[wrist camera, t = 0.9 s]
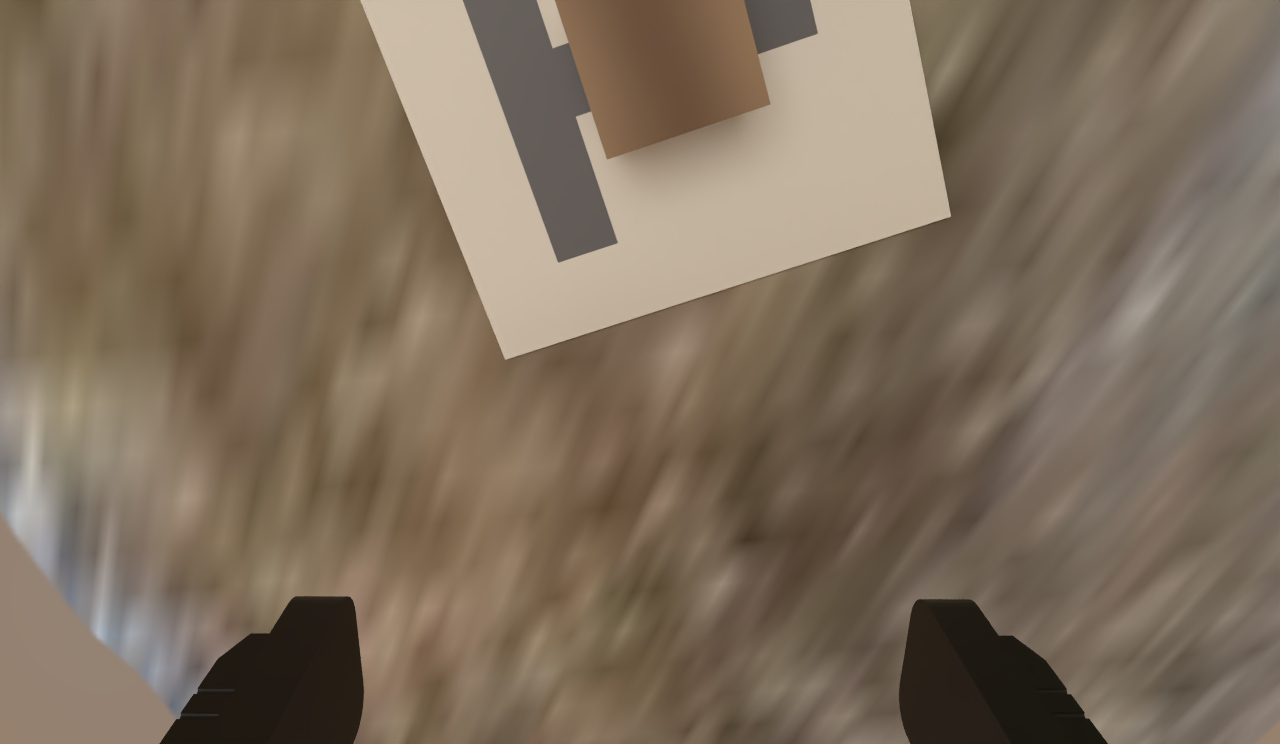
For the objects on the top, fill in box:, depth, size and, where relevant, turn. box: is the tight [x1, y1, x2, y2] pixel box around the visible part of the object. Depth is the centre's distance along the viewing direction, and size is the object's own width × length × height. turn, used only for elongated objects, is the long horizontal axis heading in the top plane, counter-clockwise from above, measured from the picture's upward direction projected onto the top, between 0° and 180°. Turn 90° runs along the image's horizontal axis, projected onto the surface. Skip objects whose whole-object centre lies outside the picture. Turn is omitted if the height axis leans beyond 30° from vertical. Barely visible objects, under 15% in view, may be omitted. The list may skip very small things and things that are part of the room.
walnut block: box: [555, 0, 770, 160], centre depth 26 cm, size 5×5×6 cm
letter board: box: [361, 0, 951, 360], centre depth 29 cm, size 18×18×1 cm
